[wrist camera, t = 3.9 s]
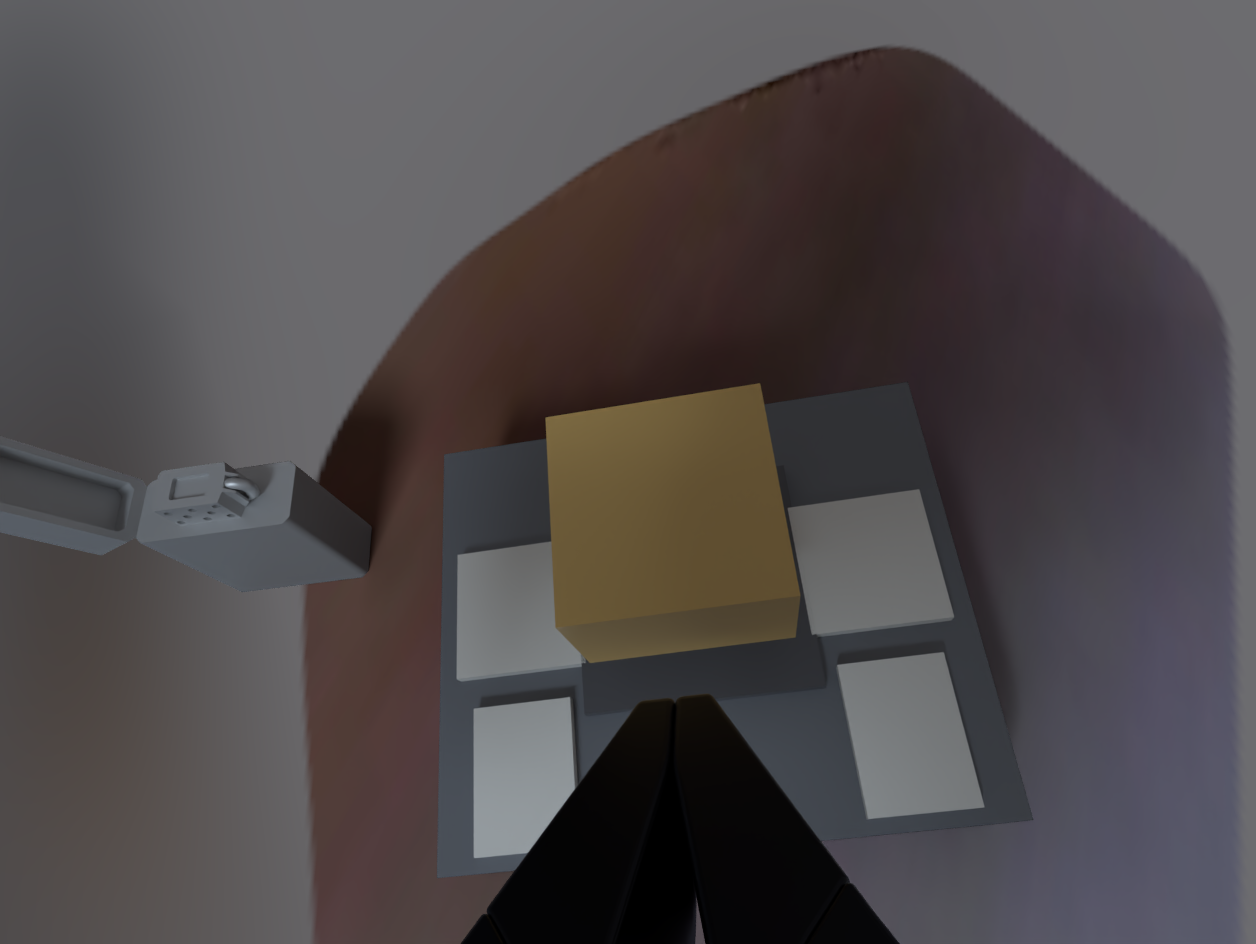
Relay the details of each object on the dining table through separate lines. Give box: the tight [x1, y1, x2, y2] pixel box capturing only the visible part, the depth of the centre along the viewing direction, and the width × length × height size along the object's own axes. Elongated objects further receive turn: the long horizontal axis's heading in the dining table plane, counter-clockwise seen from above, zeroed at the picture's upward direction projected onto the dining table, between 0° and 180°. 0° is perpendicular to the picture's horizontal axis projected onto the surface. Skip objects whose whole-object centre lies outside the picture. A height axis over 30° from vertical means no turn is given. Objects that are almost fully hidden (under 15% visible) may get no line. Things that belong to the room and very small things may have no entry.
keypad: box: [437, 382, 1033, 878], centre depth 19 cm, size 10×12×3 cm
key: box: [545, 383, 800, 663], centre depth 15 cm, size 4×4×3 cm
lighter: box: [0, 436, 372, 592], centre depth 20 cm, size 7×2×8 cm, turn 94°
